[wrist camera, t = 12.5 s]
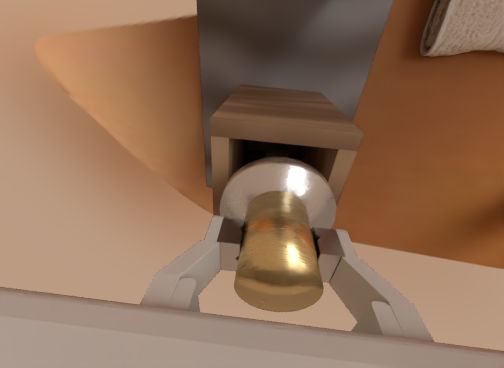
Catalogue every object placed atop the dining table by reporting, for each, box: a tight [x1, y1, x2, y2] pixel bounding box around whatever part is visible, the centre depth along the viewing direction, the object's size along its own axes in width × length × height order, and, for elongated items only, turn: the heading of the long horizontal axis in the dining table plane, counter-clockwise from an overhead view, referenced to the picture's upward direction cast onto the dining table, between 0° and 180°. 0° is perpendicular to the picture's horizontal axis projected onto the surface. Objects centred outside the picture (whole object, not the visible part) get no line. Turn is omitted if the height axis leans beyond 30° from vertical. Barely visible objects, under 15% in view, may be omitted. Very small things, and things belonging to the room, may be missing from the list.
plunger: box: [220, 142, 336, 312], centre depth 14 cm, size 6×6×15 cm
